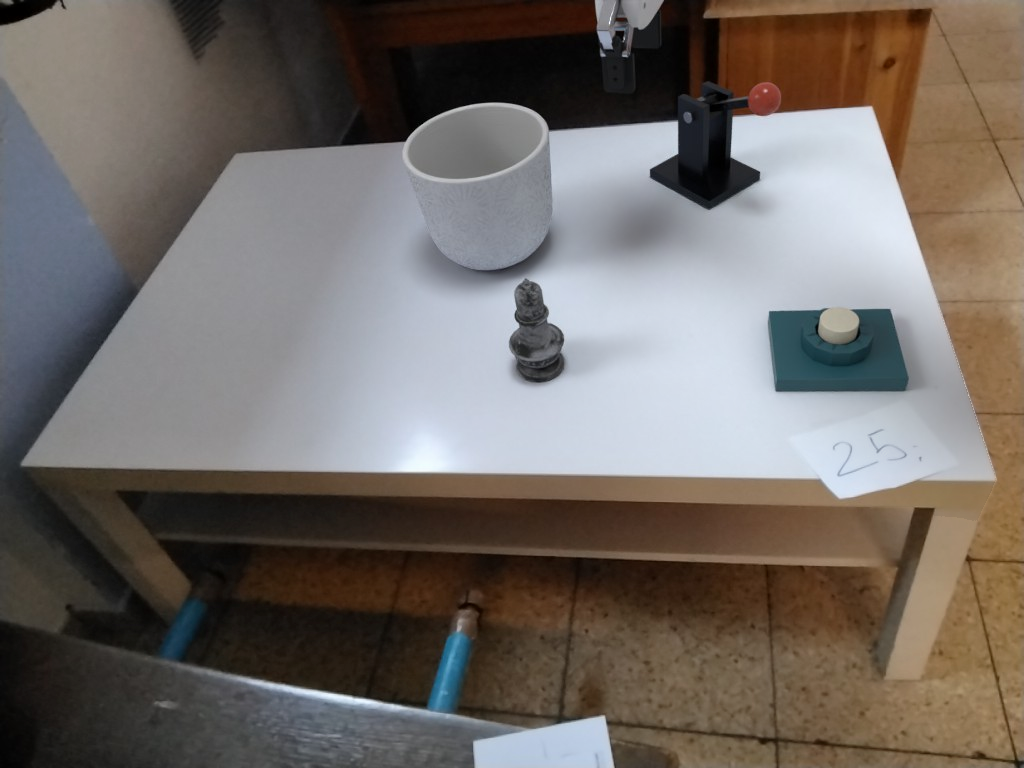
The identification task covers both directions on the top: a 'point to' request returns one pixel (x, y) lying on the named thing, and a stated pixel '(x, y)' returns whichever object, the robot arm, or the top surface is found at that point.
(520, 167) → the planter
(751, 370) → the top surface
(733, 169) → the lever base
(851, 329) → the button
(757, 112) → the lever
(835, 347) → the block
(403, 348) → the top surface
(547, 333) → the stone chess piece
